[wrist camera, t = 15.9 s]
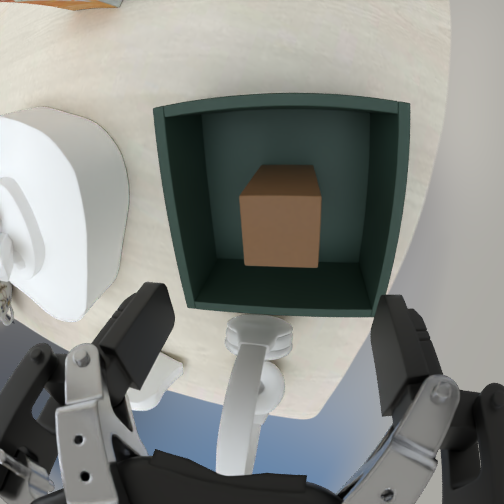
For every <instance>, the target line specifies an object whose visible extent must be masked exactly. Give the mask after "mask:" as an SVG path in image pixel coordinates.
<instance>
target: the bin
mask: <svg viewBox="0 0 504 504" xmlns="http://www.w3.org/2000/svg"><path fill="white" fill-rule="evenodd" d="M153 115H154V125H155V134H156V142H157V151H158V158H159V166H160V173H161V179H162V186H163V192H164V198H165V204H166V210H167V215H168V221H169V226H170V232H171V237H172V242H173V247H174V251H175V256H176V261H177V265H178V270H179V274H180V279H181V283H182V287H183V291H184V295H185V300H186V304H187V307H188V308H194V309H195V308H196V309H202V310H213V311H224V312H237V313H250V314H266V315H285V316H311V317H375V313H376V310H377V306H378V302H379V299H380V297H381V295H386V291H387V287H388V283H389V279H390V275H391V271H392V267H393V262H394V258H395V253H396V248H397V243H398V238H399V232H400V226H401V220H402V214H403V207H404V200H405V191H406V183H407V172H408V160H409V144H410V103H405V102H397V101H393V100H386V99H379V98H371V97H363V96H352V95H340V94H322V93H268V94H249V95H236V96H226V97H217V98H209V99H201V100H194V101H188V102H182V103H176V104H171V105H166V106H161V107H156V108H153ZM261 165H313V166H314V170H315V174H316V177H317V181H318V185H319V189H320V193H321V197H322V201H321V226H320V244H319V259H318V267H317V268H305V267H273V266H246V265H245V263H244V251H243V239H242V227H241V214H240V202H239V196H240V194H241V193H242V191H243V190H244V188H245V187H246V186H247V184H248V183H249V181H250V180H251V179H252V177H253V176H254V174H255V173H256V172H257V170H258V169H259V167H260V166H261Z"/></svg>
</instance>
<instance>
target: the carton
mask: <svg viewBox="0 0 504 504" xmlns="http://www.w3.org/2000/svg"><path fill="white" fill-rule="evenodd" d="M321 201H322V197H321V193H320V189H319V185H318V181H317V177H316V174H315V170H314V166H313V165H261V166H260V167H259V169H258V170H257V172H256V173H255V174H254V176H253V177H252V179H251V180H250V181H249V183H248V184H247V186H246V187H245V188H244V190H243V191H242V193H241V194H240V196H239V202H240V214H241V227H242V239H243V251H244V263H245V265H246V266H273V267H305V268H317V267H318V259H319V244H320V226H321Z"/></svg>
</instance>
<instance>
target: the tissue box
mask: <svg viewBox="0 0 504 504" xmlns="http://www.w3.org/2000/svg"><path fill="white" fill-rule="evenodd" d="M128 208H129V184H128V177H127V172H126V168H125V164H124V160H123V158H122V155H121V153H120V151H119V149H118V147H117V145H116V144H115V142H114V141H113V140H112V138H111V137H110V136H109V134H108V133H107V132H106V131H105V130H104V129H103V128H102V127H100V126H99V125H98V124H96V123H95V122H93V121H91V120H89V119H86V118H84V117H81V116H77V115H74V114H71V113H67V112H64V111H60V110H57V109H53V108H50V107H44V106H43V107H35V108H30V109H25V110H20V111H16V112H12V113H8V114H4V115H0V281H5V282H8V281H10V282H11V283H12V284H13V285H14V286H16V287H17V288H18V289H19V290H21V291H22V292H23V293H25V294H26V295H27V296H29V297H30V298H31V299H32V300H33V301H34V302H35V303H36V304H37V305H38V306H40V307H41V308H42V309H43V310H44V311H45V312H47V313H48V314H49V315H51V316H53V317H54V318H56V319H58V320H61V321H66V322H76V321H79V320H80V319H81V318H82V317H83V316H84V315H85V314H86V313H87V311H88V310H89V309H90V308H91V307H92V306H93V304H94V303H95V302H96V301H97V300H98V299H99V298H100V296H101V295H102V294H103V293H104V292H105V291H106V290H107V289H108V287H109V286H110V285H111V284H112V283H113V282H114V280H115V278H116V277H117V274H118V271H119V266H120V259H121V251H122V245H123V238H124V232H125V226H126V220H127V215H128Z"/></svg>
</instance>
